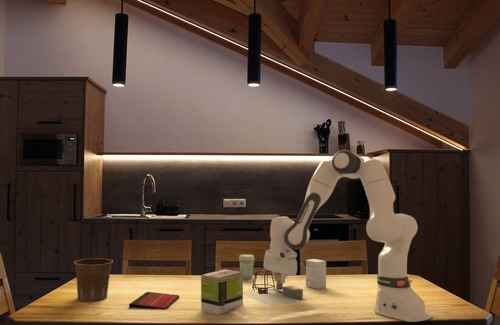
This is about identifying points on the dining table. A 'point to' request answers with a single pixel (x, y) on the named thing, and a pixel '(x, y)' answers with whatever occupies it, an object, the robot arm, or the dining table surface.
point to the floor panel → (273, 297)
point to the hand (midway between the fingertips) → (279, 282)
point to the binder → (154, 301)
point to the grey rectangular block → (292, 292)
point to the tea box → (221, 291)
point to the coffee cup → (246, 265)
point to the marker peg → (278, 281)
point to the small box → (316, 273)
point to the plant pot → (92, 278)
